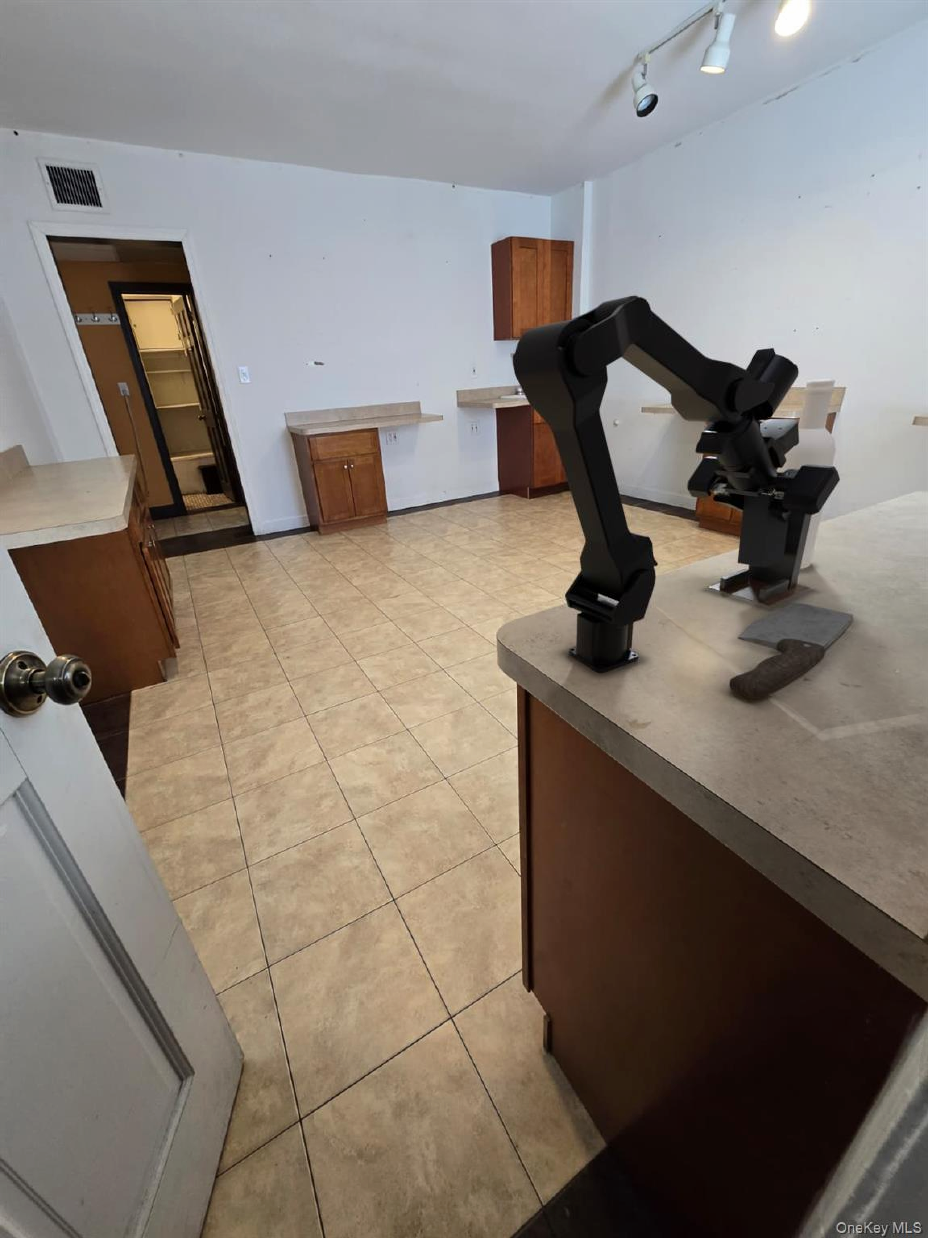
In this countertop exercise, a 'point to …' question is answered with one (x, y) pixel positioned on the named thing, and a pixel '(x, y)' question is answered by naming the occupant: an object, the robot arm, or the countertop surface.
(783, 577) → the pad mount
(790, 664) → the cleaver
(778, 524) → the back pad
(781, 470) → the bottle
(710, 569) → the countertop surface
